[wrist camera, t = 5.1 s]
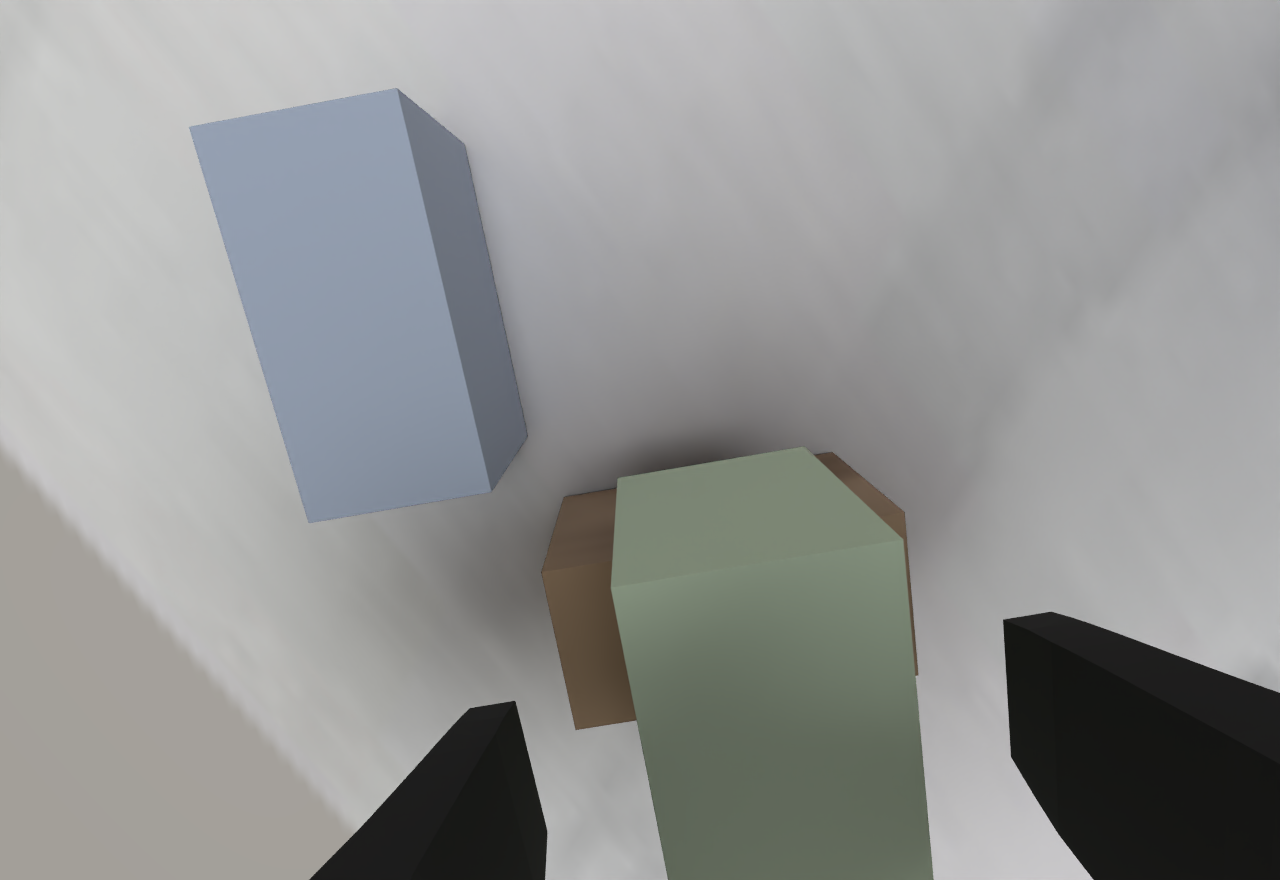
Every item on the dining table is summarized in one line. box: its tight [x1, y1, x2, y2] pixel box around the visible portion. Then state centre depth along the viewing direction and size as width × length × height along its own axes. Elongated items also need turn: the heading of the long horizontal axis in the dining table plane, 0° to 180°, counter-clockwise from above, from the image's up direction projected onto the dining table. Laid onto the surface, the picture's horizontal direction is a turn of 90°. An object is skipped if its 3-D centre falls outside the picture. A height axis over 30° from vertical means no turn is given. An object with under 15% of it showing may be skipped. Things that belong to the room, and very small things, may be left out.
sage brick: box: [611, 446, 933, 880], centre depth 10 cm, size 6×3×4 cm, turn 10°
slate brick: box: [189, 88, 528, 523], centre depth 12 cm, size 6×3×4 cm, turn 10°
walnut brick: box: [541, 452, 918, 730], centre depth 13 cm, size 6×3×4 cm, turn 100°
